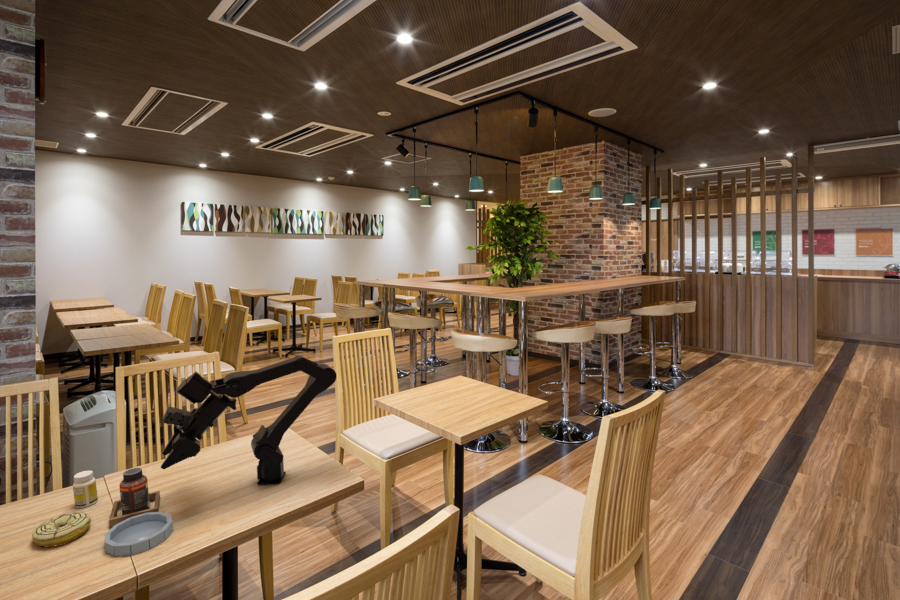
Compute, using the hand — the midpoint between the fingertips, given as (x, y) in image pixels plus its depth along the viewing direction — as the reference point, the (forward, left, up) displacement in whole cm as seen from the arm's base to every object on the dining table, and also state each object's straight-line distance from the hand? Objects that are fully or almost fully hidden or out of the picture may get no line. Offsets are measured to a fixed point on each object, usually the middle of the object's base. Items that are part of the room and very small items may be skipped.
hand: (162, 461), depth 118 cm
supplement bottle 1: (+22, -3, -12) cm, 25 cm away
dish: (-1, +14, -12) cm, 18 cm away
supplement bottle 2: (+6, +3, -12) cm, 14 cm away
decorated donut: (+18, +11, -13) cm, 25 cm away
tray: (+6, +3, -12) cm, 14 cm away
